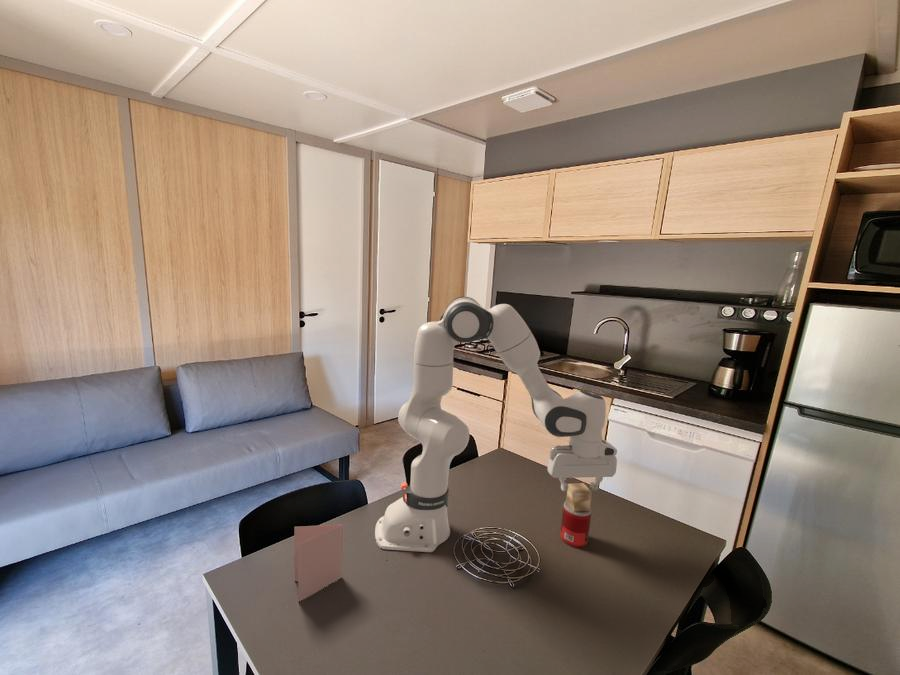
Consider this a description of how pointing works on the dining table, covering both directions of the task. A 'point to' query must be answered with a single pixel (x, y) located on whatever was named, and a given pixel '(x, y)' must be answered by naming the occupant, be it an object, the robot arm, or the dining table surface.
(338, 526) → the greeting card
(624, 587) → the dining table surface
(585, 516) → the canned food
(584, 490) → the oak block
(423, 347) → the robot arm
